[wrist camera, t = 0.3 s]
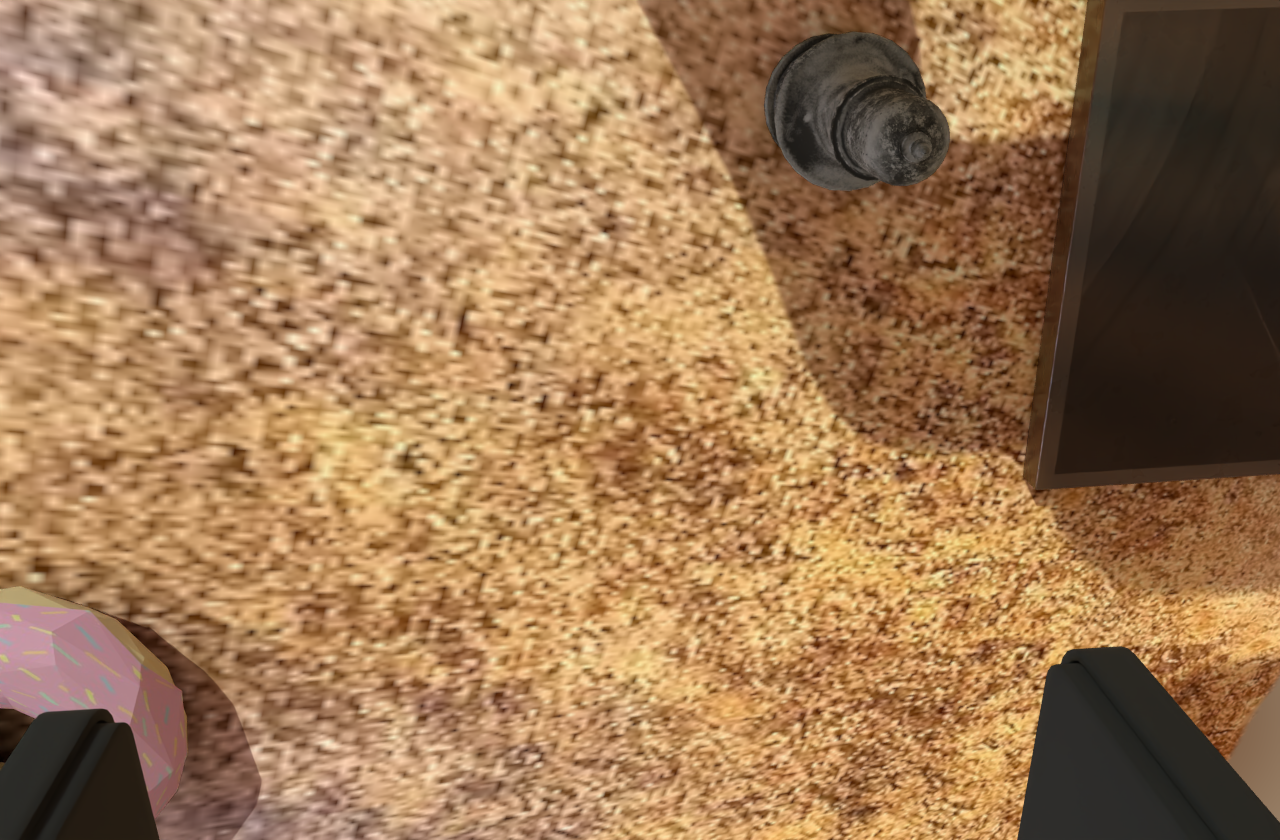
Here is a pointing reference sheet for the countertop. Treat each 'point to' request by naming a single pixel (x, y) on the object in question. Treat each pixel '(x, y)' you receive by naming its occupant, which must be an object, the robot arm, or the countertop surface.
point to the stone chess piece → (854, 113)
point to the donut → (92, 678)
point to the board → (1165, 252)
